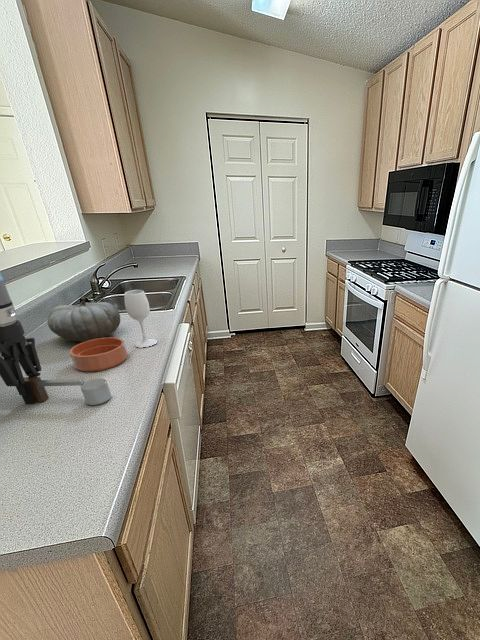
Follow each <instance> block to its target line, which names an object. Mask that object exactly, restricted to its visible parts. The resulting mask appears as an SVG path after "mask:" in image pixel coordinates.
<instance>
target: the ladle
mask: <svg viewBox="0 0 480 640" xmlns="http://www.w3.org/2000/svg"><path fill="white" fill-rule="evenodd" d="M23 378H24V381H25V383H28V384H29V386H30V388H31V390H32V393H33V395H34V397H35V400H36V403H44V402H46V401H47V400H48V399H50V397H49V394H48V392H47V390H46V388H45V387H74V386H75V387H76V386H77V387H79V386H80V390H81V393H82V395H83V398H84V401H85V403H86V405H89V406H96V405H100V404H101V405H102V404H104V403H105V402H107V401H109V400H110V399H111V397H112V394H111V391H110V387H109V384H108V382H107V379H106V378H103V377H102V378H100V377H99V378H93V379H90V380H87V381H85V380H84V379H83V378H75V379H69V378H67V379H41V376H37V377H29V376H26V377H25V376H23Z"/></svg>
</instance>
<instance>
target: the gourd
mask: <svg viewBox="0 0 480 640" xmlns="http://www.w3.org/2000/svg"><path fill="white" fill-rule="evenodd" d="M120 324H121V313H120V311H119V309H118V308H117V306H115V305H114V304H112V303H111V302H107V301H97V302H95V301H91V302H87V301H86V297H82V298H81V301H80V303H77V304H76V305H74V304H73V305H72V304H59V305H57V306H55V307H53V308H51V310H50V311H49V314H48V318H47V326H48V328H49V330H50V331H51V332H52V333H54V334H55V335H57V337H60V338H62V339H65V340H67V341H70V342H80V343H82V342H85V341H89V340H93V339H98V338H106V337H107V336H110V335H111V334H113V333H115V332H116V331H117V330H118V328H119V326H120Z"/></svg>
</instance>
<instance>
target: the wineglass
mask: <svg viewBox="0 0 480 640" xmlns="http://www.w3.org/2000/svg"><path fill="white" fill-rule="evenodd" d="M123 298H124V307H125V311H126V313H127V315H128V316H129V317H130V318H131V319H133V320H135V321H137V322H139V326H140V328H141V333H142V339H140V340H138V341H136V342H135V343H134V345H133V346H134V347H135V348H137V347H138V348H137V349H144V348H143V347H146V348H150V347H149V346H151V347H153V346H152V345H154V344H156V343H157V341H158V340H157V339H155V338H148V337H147V334H146V331H145V325H144V320H145V319H147V317H149V314H150V311H151V309H150V308H151V307H150V303H149V300H148V297H147V295H146V292H145V291H144V290H143V289H132V290H128V291H125V292H124V297H123ZM157 344H158V343H157ZM157 344H156V345H157ZM154 346H155V345H154Z"/></svg>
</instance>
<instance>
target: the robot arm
mask: <svg viewBox="0 0 480 640" xmlns="http://www.w3.org/2000/svg"><path fill="white" fill-rule="evenodd" d="M22 370H23V371H22ZM41 371H42V365H41V362H40V359H39V355H38V351H37V349H36V340H35V338H34V337H25V329H24V327H23V324H22V322H21V321H20V320H19V315H18V313H17V311H16V308H15V306H14V303H13V301H12V299H11V296H10V294H9V291H8V289H7V285H6V283H5V280H4V276H3V275H2V273H0V377H1V379H2V381H3V382H4V384H5V385H6V387H15V388H16V390H17V392H18V395H19V396H21V397H22V400H23V402H24V404H25V405H26V404H27V405H28V404H29V405H33V404H34V405H35V404H37V402H36V400H35V397H34V395H33V393H32V390H31V388H30V386H29V384H28V383H25V381H24V378H23V377H24V375H23V372H24V373H25V376H26V377H41Z"/></svg>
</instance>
